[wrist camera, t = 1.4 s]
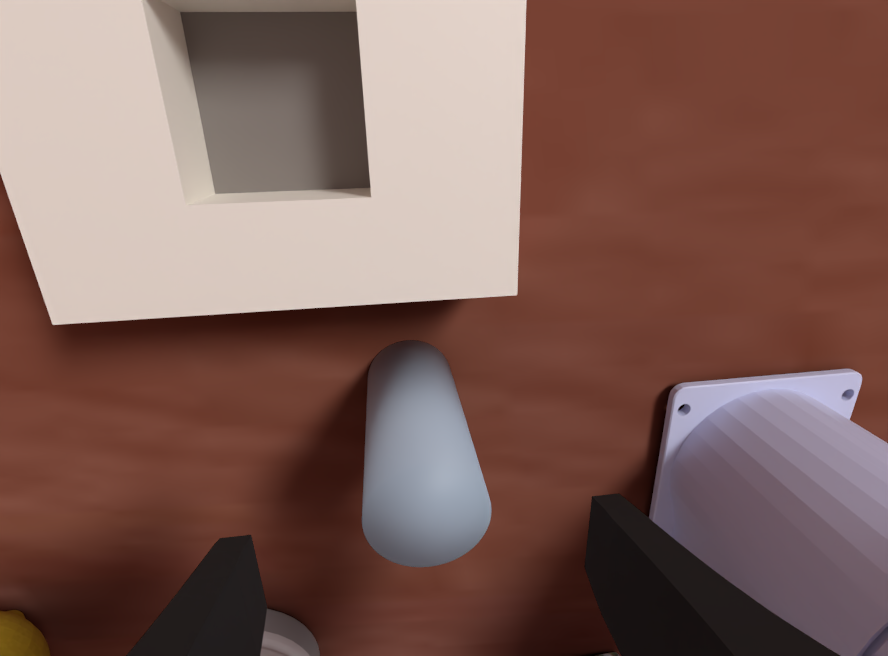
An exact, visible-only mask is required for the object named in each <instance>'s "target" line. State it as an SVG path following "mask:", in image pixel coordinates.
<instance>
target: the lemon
mask: <svg viewBox="0 0 888 656" xmlns="http://www.w3.org/2000/svg"><path fill="white" fill-rule="evenodd" d="M0 656H50V651H49V646H48V644H47V642H46V639H45V638H44V636H43V634H42V633H41V631H40V630H39V629H38V628H37V627H35V626H34V625H33V624H32V623H31V622H30V621H28V620H26V619H25V616H24V614H23V613H22V612H20V611H18V610H9V611H0Z"/></svg>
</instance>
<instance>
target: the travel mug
mask: <svg viewBox="0 0 888 656" xmlns="http://www.w3.org/2000/svg"><path fill="white" fill-rule="evenodd" d="M260 656H320V652H319V647H318V644H317V642H316V640H315V638H314V636H313V635H312V633H311V632H310V631H309V630H308V629H307V628H306V626H305V625H303V624H302V623H301V622H299V621H298V620H296V619H295V618H293V617H291V616H289V615H286V614H284V613H282V612H278V611H275V610H271V609H267V613H266V620H265V627H264V634H263V641H262V647H261V654H260Z"/></svg>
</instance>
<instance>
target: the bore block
mask: <svg viewBox="0 0 888 656" xmlns="http://www.w3.org/2000/svg"><path fill="white" fill-rule="evenodd" d="M525 27H526V0H0V174H1V176H2V179H3V182H4V185H5V188H6V191H7V194H8V197H9V200H10V203H11V205H12V208H13V211H14V214H15V217H16V220H17V223H18V226H19V229H20V232H21V234H22V237H23V240H24V243H25V246H26V249H27V252H28V255H29V258H30V261H31V263H32V266H33V269H34V272H35V275H36V278H37V281H38V284H39V287H40V290H41V292H42V295H43V298H44V301H45V304H46V307H47V310H48V313H49V316H50V319H51V321H52V324H53V325H60V324H75V323H91V322H106V321H122V320H138V319H153V318H169V317H184V316H200V315H216V314H231V313H247V312H262V311H278V310H294V309H309V308H325V307H340V306H356V305H372V304H387V303H403V302H418V301H434V300H450V299H465V298H481V297H496V296H512V295H517V284H518V252H519V220H520V188H521V156H522V124H523V91H524V59H525Z"/></svg>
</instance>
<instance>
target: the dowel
mask: <svg viewBox="0 0 888 656" xmlns="http://www.w3.org/2000/svg"><path fill="white" fill-rule="evenodd" d="M490 519H491V502H490V498H489V495H488V492H487V488H486V485H485V482H484V478H483V475H482V472H481V469H480V465H479V462H478V459H477V455H476V452H475V449H474V446H473V442H472V439H471V436H470V432H469V429H468V426H467V423H466V419H465V416H464V413H463V409H462V406H461V403H460V400H459V396H458V393H457V390H456V386H455V383H454V380H453V377H452V373H451V370H450V367H449V364H448V362H447V360H446V358H445V356H444V355H443V354H442V353H441V352H440V351H439V350H438V349H437V348H435V347H434V346H432V345H430V344H428V343H425V342H421V341H415V340H406V341H400V342H396V343H394V344H391V345H389V346H388V347H386V348H385V349H383V350H382V351H381V352H380V353H379V354H378V355H377V356H376V357H375V358H374V360H373V361H372V363H371V366H370V368H369V372H368V385H367V409H366V433H365V458H364V482H363V506H362V527H363V532H364V534H365V537H366V539H367V541H368V543H369V544H370V545H371V547H372V548H373V549H374V550H375V551H376V552H377V553H378V554H380V555H381V556H383V557H384V558H386V559H388V560H390V561H392V562H394V563H397V564H401V565H405V566H411V567H430V566H436V565H440V564H444V563H447V562H450V561H452V560H455V559H457V558H459V557H461V556H462V555H464V554H465V553H467V552H468V551H469V550H471V549H472V548H473V547H474V546H475V545H476V544H477V543H478V542H479V541H480V540H481V538H482V537H483V536H484V534H485V532H486V530H487V528H488V526H489V523H490Z"/></svg>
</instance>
